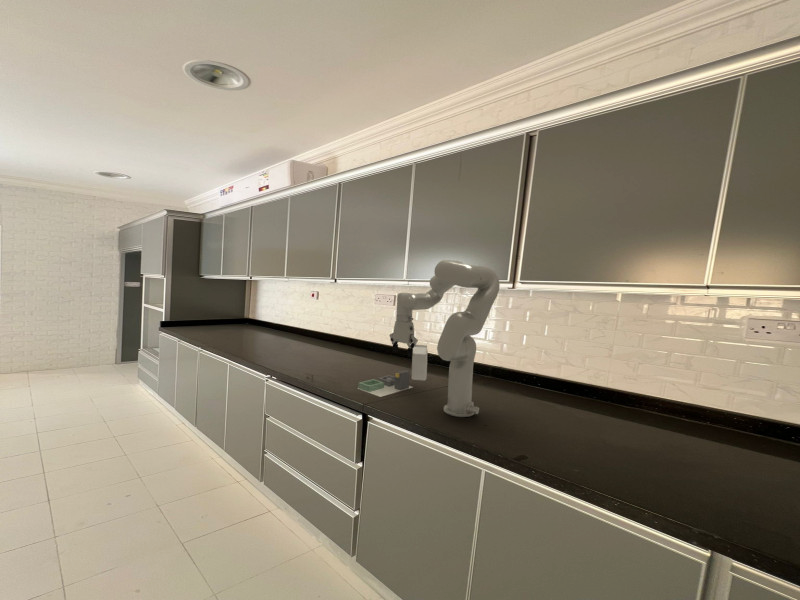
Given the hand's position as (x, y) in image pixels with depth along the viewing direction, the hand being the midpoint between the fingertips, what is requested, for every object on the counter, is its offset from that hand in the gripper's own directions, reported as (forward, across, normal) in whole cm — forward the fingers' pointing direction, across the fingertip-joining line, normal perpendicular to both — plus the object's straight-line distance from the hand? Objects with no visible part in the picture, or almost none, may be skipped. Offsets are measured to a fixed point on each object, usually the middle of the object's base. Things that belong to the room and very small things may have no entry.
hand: (402, 354), depth 167 cm
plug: (+16, -1, 0) cm, 16 cm away
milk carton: (+18, +5, -20) cm, 27 cm away
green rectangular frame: (+16, +9, +11) cm, 22 cm away
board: (+18, +5, +6) cm, 19 cm away
